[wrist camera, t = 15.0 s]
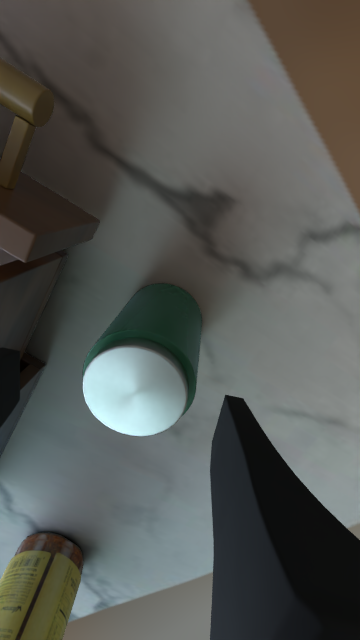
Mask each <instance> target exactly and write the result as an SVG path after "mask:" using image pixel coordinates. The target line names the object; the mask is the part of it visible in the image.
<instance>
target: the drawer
mask: <svg viewBox="0 0 360 640" xmlns="http://www.w3.org/2000/svg"><path fill="white" fill-rule="evenodd" d="M0 104H1V105H2V106H4V107H6V108H7V109H9V110H10V111H12V112H13V113H15V114H17V115H18V116H17V115H16V116H15V118H14V121H13V124H12V127H11V130H10V133H9V136H8V139H7V142H6V145H5V148H4V151H3V154H2V157H1V159H0V348H2V347H4V348H8V349H13V350H18V351H20V360H21V358H22V356H23V354H24V352H25V349H26V347H27V345H28V343H29V341H30V338H31V336H32V334H33V332H34V330H35V327H36V325H37V323H38V321H39V319H40V316H41V314H42V312H43V310H44V308H45V305H46V303H47V301H48V299H49V297H50V294H51V292H52V290H53V288H54V286H55V283H56V281H57V279H58V277H59V275H60V272H61V270H62V268H63V266H64V264H65V262H66V259H67V257H68V254H67V253H65V252H64V251H62V250H63V249H66V248H68V247H71V246H74V245H77V244H80V243H83V242H85V241H88V240H91V239H92V238H93V236H94V234H95V232H96V230H97V227H98V225H99V223H100V220H99V219H97V218H96V217H94V216H92V215H91V214H89V213H88V212H86V211H84V210H83V209H81V208H79V207H78V206H76V205H75V204H73V203H71V202H70V201H68V200H67V199H65V198H63V197H62V196H60V195H58V194H57V193H55V192H54V191H52V190H50V189H49V188H47V187H45V186H44V185H42V184H41V183H39V182H37V181H36V180H34V179H32V178H31V177H29V176H28V175H26V174H24V173H23V172H21V168H22V166H23V163H24V160H25V157H26V154H27V152H28V149H29V146H30V143H31V140H32V137H33V135H34V132H35V129H36V127H43V126H44V125H45V124H46V123H47V122H48V121H49V119H50V118H51V115H52V113H53V109H54V95H53V93H52V92H51V90H49V89H48V88H46V87H45V86H43V85H42V84H40V83H39V82H37V81H36V80H34V79H33V78H31V77H29V76H28V75H26V74H25V73H23V72H22V71H20V70H19V69H17V68H16V67H14V66H13V65H11V64H10V63H8V62H7V61H5V60H4V59H2V58H0ZM19 116H20V117H19Z"/></svg>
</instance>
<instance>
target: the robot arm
mask: <svg viewBox="0 0 360 640" xmlns="http://www.w3.org/2000/svg"><path fill="white" fill-rule="evenodd" d="M19 401H20V351H18V350H13V349H8V348H4V347H2V348H0V428H1V426H2V425H3V424H4V423H5V421H6V420H7V419H8V417H9V416H10V414H11V413H12V411H13V410H14V408H15V407H16V405H17V404H18V402H19ZM210 477H211V498H212V517H213V536H214V564H213V590H212V591H213V592H212V611H211V632H210V640H360V540H359V539H358V538H357V537H356V536H354V535H353V534H352V533H351V532H350V531H349V530H348V529H347V528H346V527H345V526H344V525H343V524H342V523H341V522H340V521H339V520H337V519H336V518H335V517H334V516H333V515H332V514H331V513H330V512H329V511H328V510H327V509H326V508H325V507H324V506H323V505H322V504H321V503H320V502H319V501H318V499H317V498H316V497H315V496H314V495H313V494H312V493H311V492H310V491H309V490H308V489H307V487H306V486H305V485H304V484H303V483H302V482H301V481H300V479H299V478H298V477H297V476H296V475H295V474H294V472H293V471H292V470H291V469H290V467H289V466H288V465H287V464H286V462H285V461H284V460H283V458H282V457H281V456H280V454H279V453H278V452H277V450H276V449H275V448H274V446H273V445H272V443H271V442H270V440H269V439H268V437H267V436H266V434H265V433H264V431H263V430H262V428H261V427H260V425H259V423H258V422H257V420H256V419H255V417H254V415H253V414H252V412H251V410H250V409H249V407H248V406H247V404H246V402H245V401H244V399H243V398H238V397H234V396H229V395H225V398H224V401H223V405H222V408H221V412H220V415H219V419H218V423H217V426H216V430H215V433H214V437H213V440H212V450H211V465H210Z"/></svg>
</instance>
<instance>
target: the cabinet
mask: <svg viewBox="0 0 360 640" xmlns="http://www.w3.org/2000/svg"><path fill="white" fill-rule="evenodd" d="M45 366H46V364H45V363H43V362H42V361H40V360H38V359H36V358H34V357H32V356H31V355H29V354H27V353H25V352H24V354H23V356H22V358H21V360H20V401H19V402H18V404H17V405H16V407H15V408H14V410H13V411H12V413H11V414H10V416H9V417H8V419H7V420H6V421H5V423H4V424H3V425H2V426H1V428H0V456H1V454H2V452H3V450H4V448H5V446H6V444H7V442H8V440H9V438H10V436H11V434H12V432H13V430H14V428H15V426H16V424H17V422H18V420H19V418H20V416H21V414H22V412H23V410H24V408H25V406H26V404H27V402H28V400H29V398H30V396H31V394H32V392H33V390H34V388H35V386H36V384H37V382H38V380H39V378H40V376H41V374H42V372H43V370H44V368H45Z"/></svg>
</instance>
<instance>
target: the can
mask: <svg viewBox="0 0 360 640" xmlns="http://www.w3.org/2000/svg"><path fill="white" fill-rule="evenodd" d="M201 329H202V315H201V311H200V308H199V306H198V304H197V303H196V301H195V300H194V298H193V297H192V296H191V295H190V294H189V293H188V292H186V291H185V290H183V289H181V288H179V287H177V286H174V285H171V284H164V283H160V284H152V285H149V286H146V287H144V288H142V289H141V290H139V291H138V292H137V293H136V294H135V295H134V296H133V297H132V298H131V300H130V301H129V302H128V303H127V305H126V306H125V307H124V308H123V310H122V311H121V312H120V313H119V315H118V316H117V317H116V318H115V319H114V321H113V322H112V323H111V324H110V326H109V327H108V328H107V329H106V331H105V332H104V333H103V334H102V336H101V337H100V338H99V339H98V341H97V342H96V343H95V344H94V346H93V347H92V348H91V350H90V351H89V353H88V354H87V357H86V359H85V362H84V366H83V394H84V398H85V401H86V403H87V405H88V407H89V409H90V410H91V412H92V413H93V414H94V416H95V417H96V418H97V419H98V420H99V421H100V422H102V423H103V424H104V425H106V426H107V427H109V428H110V429H112V430H114V431H117V432H119V433H122V434H126V435H130V436H151V435H156V434H159V433H162V432H164V431H166V430H167V429H169V428H170V427H172V426H173V425H174V424H175V423H176V422H177V421H178V420H179V419H180V418H181V417H182V416H183V415H184V414H185V413H186V411H187V410H188V409H189V407H190V406H191V404H192V402H193V400H194V397H195V393H196V383H197V373H198V362H199V351H200V340H201Z"/></svg>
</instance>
